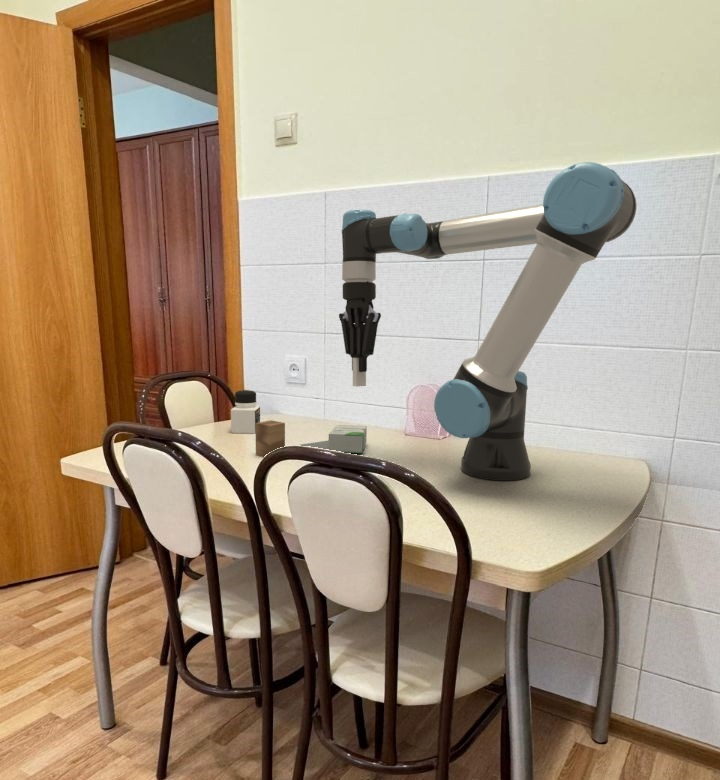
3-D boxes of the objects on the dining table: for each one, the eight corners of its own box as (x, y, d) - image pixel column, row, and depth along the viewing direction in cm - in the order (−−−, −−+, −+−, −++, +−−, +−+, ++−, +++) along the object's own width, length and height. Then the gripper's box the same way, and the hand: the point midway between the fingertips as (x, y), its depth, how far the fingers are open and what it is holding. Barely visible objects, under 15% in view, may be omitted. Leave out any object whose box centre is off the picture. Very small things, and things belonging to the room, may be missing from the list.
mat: (360, 450, 143) (361, 448, 143) (300, 460, 133) (300, 458, 133) (333, 441, 153) (333, 439, 153) (275, 449, 142) (275, 448, 142)
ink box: (362, 454, 138) (367, 443, 149) (362, 434, 137) (367, 425, 149) (327, 452, 139) (335, 442, 150) (327, 433, 138) (335, 424, 150)
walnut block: (284, 454, 138) (284, 422, 137) (269, 458, 134) (269, 425, 133) (270, 451, 141) (270, 420, 140) (255, 455, 137) (255, 423, 136)
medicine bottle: (255, 433, 161) (255, 392, 159) (230, 433, 161) (230, 392, 159) (260, 429, 168) (260, 389, 166) (236, 428, 168) (236, 388, 167)
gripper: (390, 281, 123) (390, 387, 126) (355, 284, 134) (355, 382, 137) (363, 279, 119) (363, 389, 122) (329, 283, 129) (329, 384, 132)
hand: (359, 385), depth 129 cm, fingers closed
